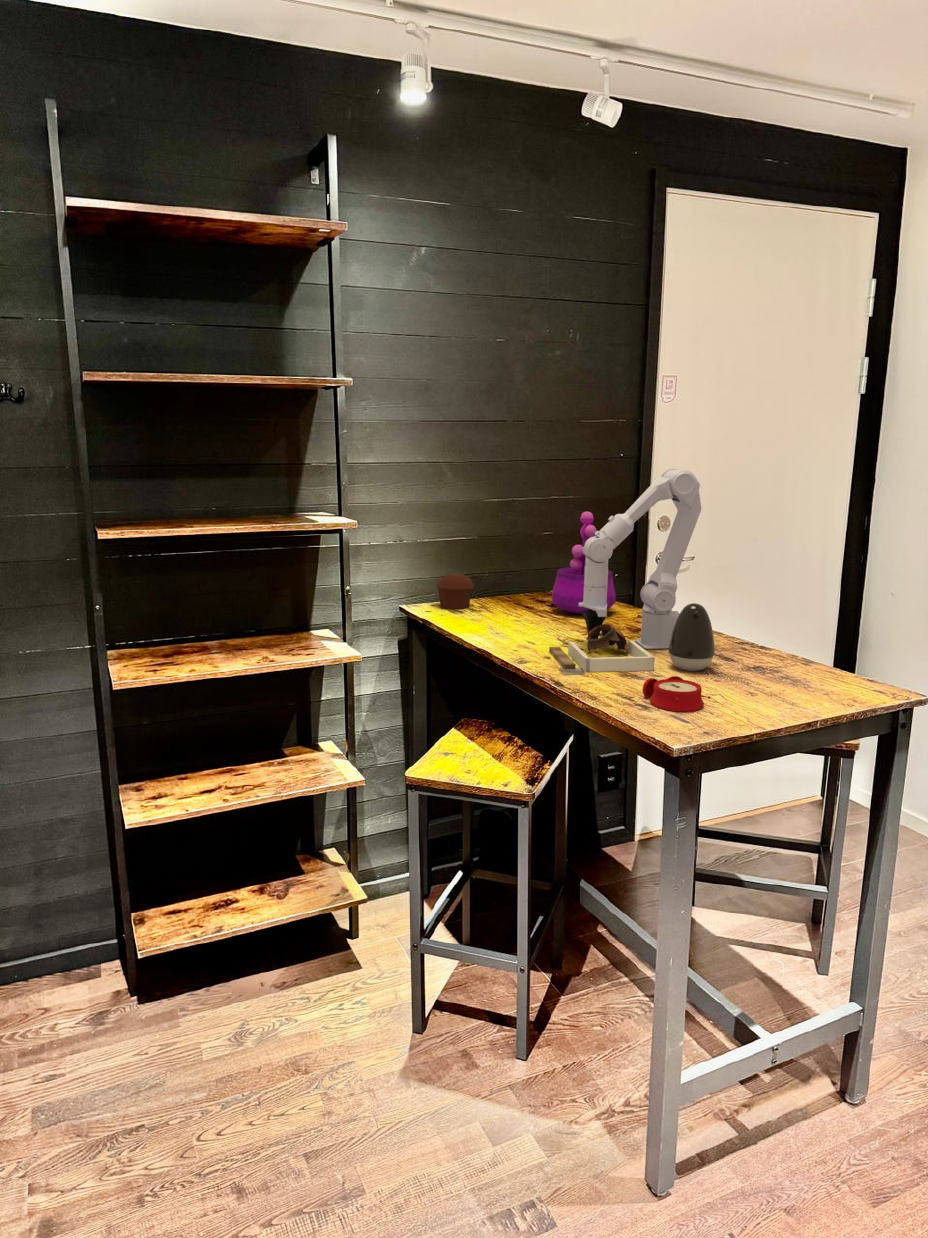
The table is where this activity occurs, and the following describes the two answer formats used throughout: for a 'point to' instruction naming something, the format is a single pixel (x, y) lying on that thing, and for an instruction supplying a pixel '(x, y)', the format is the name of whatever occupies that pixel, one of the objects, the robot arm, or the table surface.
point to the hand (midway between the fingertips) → (593, 639)
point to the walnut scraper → (565, 662)
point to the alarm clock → (674, 694)
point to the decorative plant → (578, 575)
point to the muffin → (455, 591)
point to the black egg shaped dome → (692, 639)
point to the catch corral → (614, 660)
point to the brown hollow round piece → (607, 638)
